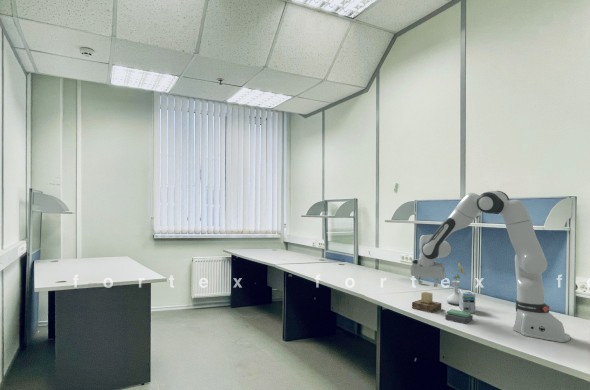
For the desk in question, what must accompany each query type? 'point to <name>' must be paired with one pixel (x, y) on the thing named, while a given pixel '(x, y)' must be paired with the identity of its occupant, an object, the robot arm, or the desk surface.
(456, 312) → the button
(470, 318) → the block
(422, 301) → the block
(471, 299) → the light bulb box
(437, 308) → the brown square frame
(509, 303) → the desk surface
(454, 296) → the flower in vase
